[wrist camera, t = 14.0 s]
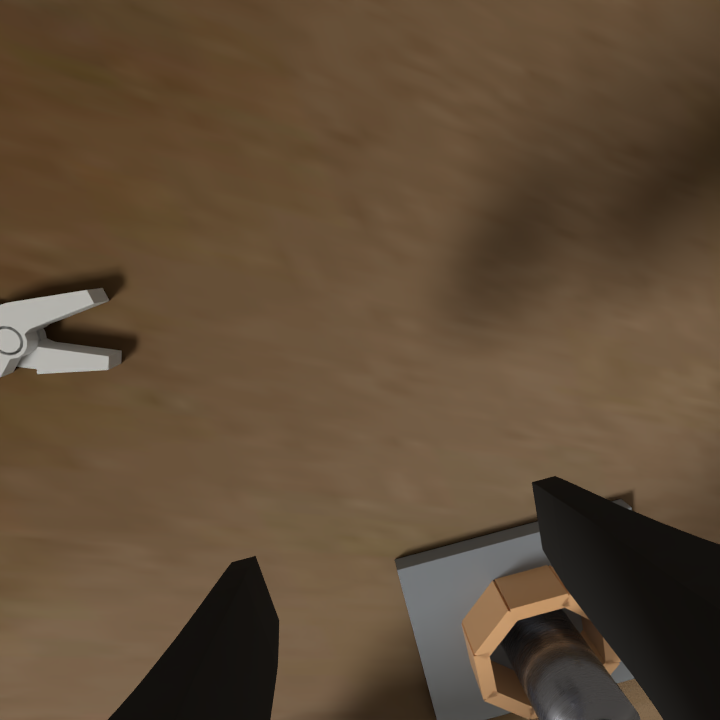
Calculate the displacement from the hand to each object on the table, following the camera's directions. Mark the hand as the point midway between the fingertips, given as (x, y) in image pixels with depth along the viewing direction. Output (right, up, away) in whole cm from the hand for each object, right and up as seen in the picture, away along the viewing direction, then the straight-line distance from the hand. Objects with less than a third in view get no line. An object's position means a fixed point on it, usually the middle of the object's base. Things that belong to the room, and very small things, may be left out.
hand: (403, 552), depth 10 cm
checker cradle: (+9, -10, +14) cm, 19 cm away
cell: (+9, -10, +13) cm, 19 cm away
